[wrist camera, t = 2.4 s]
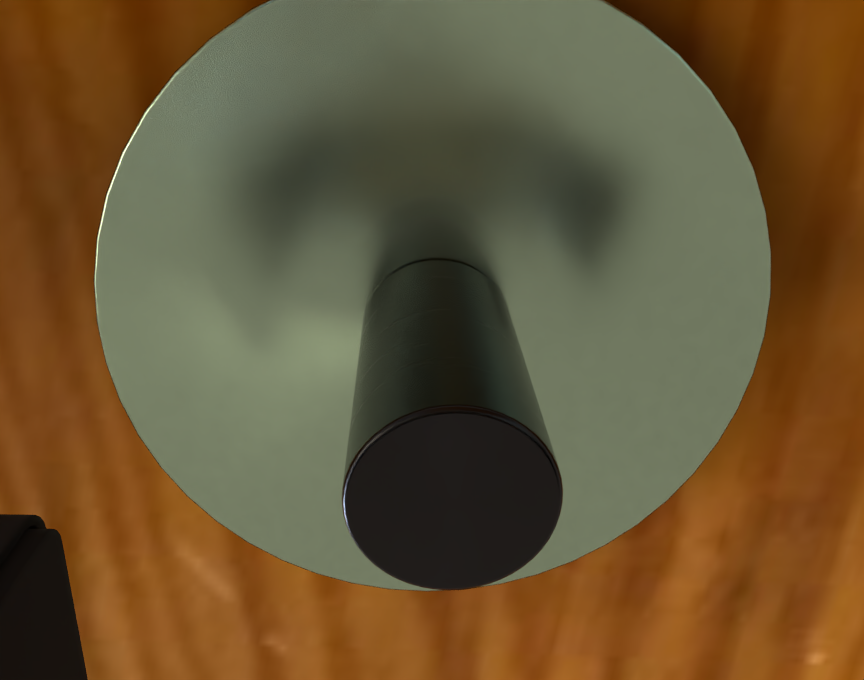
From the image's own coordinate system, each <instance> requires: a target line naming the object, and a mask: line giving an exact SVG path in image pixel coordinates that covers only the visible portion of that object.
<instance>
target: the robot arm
mask: <svg viewBox="0 0 864 680" xmlns="http://www.w3.org/2000/svg"><path fill="white" fill-rule="evenodd" d="M0 680H88V679H87V674H86V668H85V663H84V657H83V652H82V647H81V641H80V636H79V631H78V625H77V620H76V614H75V609H74V604H73V598H72V593H71V587H70V582H69V577H68V571H67V566H66V560H65V555H64V550H63V544H62V540H61V536H60V534H59V532H58V531H57V530H55V529H46V527H45V523H44V522H43V520H42V519H41V517H39V516H36V515H1V514H0Z"/></svg>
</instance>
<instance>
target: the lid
mask: <svg viewBox="0 0 864 680" xmlns="http://www.w3.org/2000/svg"><path fill="white" fill-rule="evenodd" d="M94 290H95V304H96V317H97V325H98V329H99V334H100V338H101V343H102V347H103V352H104V356H105V361H106V364H107V367H108V370H109V372H110V375H111V378H112V381H113V383H114V386H115V389H116V391H117V394H118V397H119V400H120V402H121V404H122V405H123V407H124V409H125V411H126V413H127V415H128V417H129V419H130V421H131V422H132V424H133V426H134V428H135V430H136V432H137V434H138V436H139V437H140V438H141V440H142V441H143V443H144V444H145V446H146V447H147V448H148V450H149V451H150V453H151V454H152V455H153V457H154V458H155V460H156V461H157V463H158V464H159V465H160V467H161V468H162V469H163V470H164V471H165V472H166V473H167V475H168V476H169V477H170V478H171V479H172V480H173V481H174V482H175V483H176V484H177V486H178V487H179V488H180V489H181V490H182V491H183V492H184V493H185V494H186V495H187V496H188V497H189V498H190V499H191V500H192V501H193V502H195V503H196V504H197V505H198V506H199V507H200V508H202V509H203V510H204V511H205V512H206V513H207V514H209V515H210V516H211V517H212V518H213V519H214V520H216V521H217V522H218V523H220V524H221V525H223V526H224V527H226V528H227V529H229V530H230V531H232V532H233V533H235V534H236V535H238V536H239V537H241V538H242V539H243V540H245V541H246V542H248V543H250V544H252V545H254V546H256V547H258V548H260V549H261V550H263V551H265V552H267V553H269V554H271V555H273V556H275V557H277V558H279V559H281V560H283V561H286V562H288V563H291V564H293V565H296V566H298V567H301V568H303V569H306V570H309V571H311V572H314V573H316V574H320V575H324V576H327V577H331V578H335V579H338V580H342V581H346V582H349V583H354V584H360V585H366V586H372V587H379V588H385V589H394V590H412V591H444V590H464V589H471V588H478V587H484V586H491V585H497V584H503V583H507V582H510V581H514V580H518V579H522V578H526V577H530V576H534V575H537V574H540V573H543V572H545V571H548V570H551V569H554V568H556V567H559V566H562V565H564V564H567V563H570V562H572V561H574V560H576V559H578V558H580V557H582V556H584V555H586V554H588V553H590V552H592V551H594V550H596V549H598V548H600V547H602V546H604V545H606V544H608V543H609V542H611V541H613V540H614V539H616V538H617V537H619V536H620V535H622V534H623V533H625V532H627V531H628V530H630V529H631V528H633V527H634V526H636V525H637V524H639V523H640V522H641V521H642V520H644V519H645V518H646V517H647V516H649V515H650V514H651V513H652V512H654V511H655V510H656V509H657V508H659V507H660V506H661V505H662V504H663V503H665V502H666V501H667V500H668V499H669V498H670V497H671V496H672V495H673V494H674V493H675V492H676V491H677V490H678V489H679V488H680V487H681V486H682V485H683V484H684V483H685V482H686V481H687V480H688V479H689V478H690V477H691V476H692V475H693V474H694V473H695V471H696V470H697V469H698V467H699V466H700V465H701V464H702V462H703V461H704V460H705V458H706V457H707V456H708V455H709V453H710V452H711V451H712V449H713V448H714V447H715V446H716V444H717V443H718V441H719V440H720V438H721V436H722V435H723V433H724V431H725V430H726V428H727V426H728V425H729V423H730V421H731V420H732V418H733V416H734V415H735V413H736V411H737V410H738V407H739V405H740V403H741V401H742V398H743V396H744V394H745V391H746V389H747V387H748V385H749V382H750V380H751V378H752V376H753V373H754V370H755V366H756V363H757V360H758V356H759V353H760V349H761V346H762V342H763V339H764V335H765V329H766V323H767V316H768V309H769V303H770V296H771V247H770V240H769V232H768V224H767V217H766V210H765V206H764V203H763V199H762V196H761V192H760V189H759V185H758V182H757V178H756V175H755V171H754V168H753V166H752V163H751V161H750V159H749V157H748V155H747V152H746V150H745V148H744V146H743V143H742V141H741V139H740V137H739V135H738V132H737V130H736V128H735V126H734V125H733V123H732V122H731V120H730V119H729V117H728V116H727V114H726V112H725V111H724V109H723V108H722V106H721V105H720V103H719V102H718V100H717V98H716V97H715V95H714V94H713V92H712V91H711V89H710V88H709V87H708V86H707V85H706V84H705V82H704V81H703V80H702V79H701V78H700V77H699V76H698V74H697V73H696V72H695V71H694V70H693V69H692V68H691V66H690V65H689V64H688V63H687V62H686V61H685V60H684V59H683V57H682V56H681V55H680V54H679V53H678V52H677V51H675V50H674V49H673V48H672V47H671V46H669V45H668V44H667V43H666V42H665V41H663V40H662V39H661V38H660V37H659V36H658V35H656V34H655V33H654V32H653V31H652V30H650V29H649V28H648V27H647V26H646V25H644V24H643V23H642V22H640V21H639V20H637V19H635V18H634V17H632V16H631V15H629V14H627V13H626V12H624V11H622V10H621V9H619V8H618V7H616V6H614V5H613V4H611V3H609V2H608V1H606V0H268V1H266V2H264V3H262V4H260V5H258V6H256V7H254V8H252V9H251V10H249V11H248V12H246V13H245V14H244V15H242V16H241V17H239V18H238V19H236V20H235V21H234V22H232V23H231V24H229V25H228V26H227V27H225V28H224V29H222V30H221V31H220V32H218V33H217V34H215V35H214V36H212V37H211V38H210V39H209V40H208V41H207V42H206V43H205V44H204V45H202V46H201V47H200V48H199V49H198V50H197V51H196V52H195V53H194V54H193V55H192V56H191V57H190V58H189V59H188V60H187V61H186V62H185V63H184V64H183V65H182V66H181V67H179V68H178V69H177V70H176V71H175V72H174V74H173V75H172V76H171V77H170V79H169V80H168V81H167V83H166V84H165V85H164V86H163V88H162V89H161V90H160V92H159V93H158V94H157V95H156V97H155V98H154V99H153V101H152V102H151V103H150V104H149V106H148V107H147V108H146V110H145V111H144V113H143V115H142V117H141V118H140V120H139V122H138V124H137V125H136V127H135V129H134V131H133V133H132V134H131V136H130V138H129V140H128V142H127V143H126V145H125V147H124V149H123V150H122V153H121V155H120V158H119V161H118V163H117V166H116V169H115V171H114V174H113V176H112V179H111V182H110V184H109V187H108V190H107V192H106V196H105V201H104V205H103V210H102V214H101V219H100V224H99V228H98V233H97V239H96V253H95V268H94Z"/></svg>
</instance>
